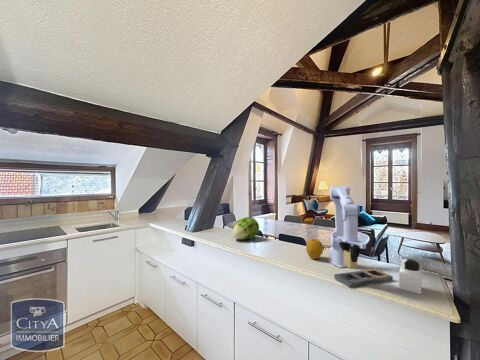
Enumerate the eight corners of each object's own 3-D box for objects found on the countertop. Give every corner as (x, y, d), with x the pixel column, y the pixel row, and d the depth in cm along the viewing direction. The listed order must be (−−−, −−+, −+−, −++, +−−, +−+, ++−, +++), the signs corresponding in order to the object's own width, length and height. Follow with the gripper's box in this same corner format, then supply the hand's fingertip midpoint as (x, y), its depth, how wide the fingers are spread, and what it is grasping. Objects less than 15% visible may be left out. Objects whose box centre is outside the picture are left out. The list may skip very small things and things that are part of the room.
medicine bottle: (421, 288, 89) (420, 260, 90) (420, 294, 84) (420, 265, 84) (400, 283, 94) (400, 256, 94) (398, 288, 89) (398, 260, 89)
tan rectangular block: (343, 265, 96) (343, 250, 96) (350, 264, 97) (350, 249, 97) (350, 268, 92) (350, 252, 92) (357, 267, 93) (357, 252, 94)
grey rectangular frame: (334, 278, 98) (334, 273, 98) (375, 272, 105) (375, 268, 105) (349, 287, 89) (349, 282, 89) (392, 280, 96) (392, 275, 96)
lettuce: (223, 229, 166) (236, 218, 155) (241, 220, 184) (254, 210, 173) (235, 249, 161) (249, 239, 150) (252, 238, 179) (266, 229, 168)
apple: (324, 262, 118) (324, 241, 119) (307, 260, 120) (307, 240, 121) (321, 256, 128) (321, 237, 128) (305, 255, 130) (305, 236, 130)
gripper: (332, 227, 101) (332, 255, 101) (356, 234, 87) (356, 266, 87) (343, 226, 103) (343, 254, 103) (369, 233, 89) (369, 265, 89)
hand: (350, 259), depth 95 cm, fingers closed on tan rectangular block, 4 cm apart
